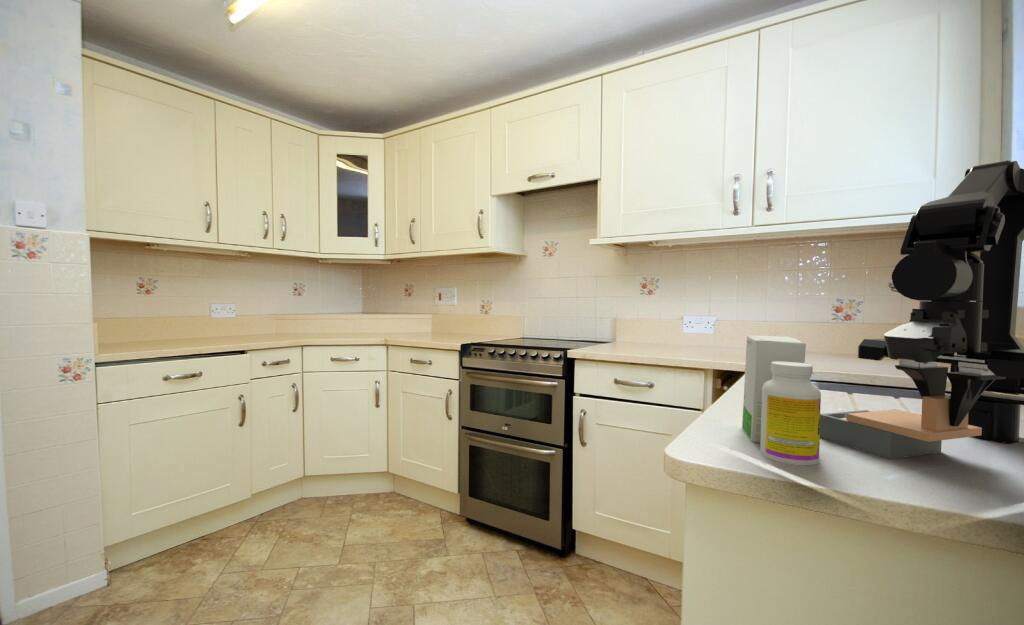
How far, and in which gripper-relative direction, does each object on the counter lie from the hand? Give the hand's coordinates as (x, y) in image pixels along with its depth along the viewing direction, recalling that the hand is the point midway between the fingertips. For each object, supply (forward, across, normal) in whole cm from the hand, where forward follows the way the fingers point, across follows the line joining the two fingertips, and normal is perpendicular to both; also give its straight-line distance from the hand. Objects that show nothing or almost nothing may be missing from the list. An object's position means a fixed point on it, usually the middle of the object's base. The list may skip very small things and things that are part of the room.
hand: (944, 423), depth 58 cm
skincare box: (+6, -15, -12) cm, 20 cm away
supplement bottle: (+6, -7, -17) cm, 20 cm away
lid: (+2, -4, 0) cm, 4 cm away
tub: (+6, -8, 0) cm, 10 cm away
